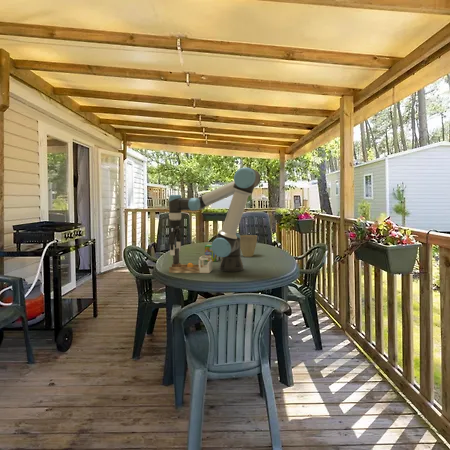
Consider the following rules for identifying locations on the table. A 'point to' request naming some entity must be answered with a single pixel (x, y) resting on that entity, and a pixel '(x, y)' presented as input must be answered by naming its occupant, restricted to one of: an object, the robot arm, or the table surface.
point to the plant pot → (248, 244)
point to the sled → (176, 259)
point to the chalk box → (211, 253)
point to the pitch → (185, 269)
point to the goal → (205, 267)
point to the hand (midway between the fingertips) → (175, 253)
